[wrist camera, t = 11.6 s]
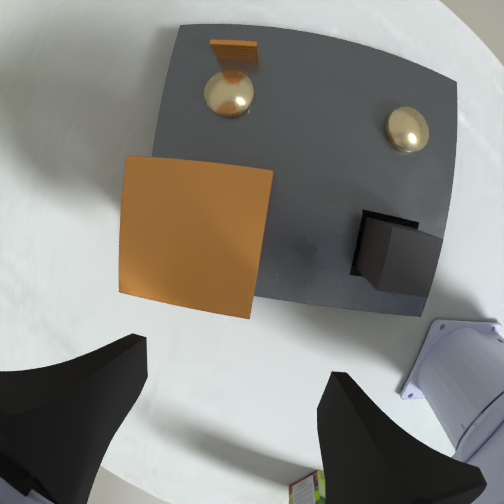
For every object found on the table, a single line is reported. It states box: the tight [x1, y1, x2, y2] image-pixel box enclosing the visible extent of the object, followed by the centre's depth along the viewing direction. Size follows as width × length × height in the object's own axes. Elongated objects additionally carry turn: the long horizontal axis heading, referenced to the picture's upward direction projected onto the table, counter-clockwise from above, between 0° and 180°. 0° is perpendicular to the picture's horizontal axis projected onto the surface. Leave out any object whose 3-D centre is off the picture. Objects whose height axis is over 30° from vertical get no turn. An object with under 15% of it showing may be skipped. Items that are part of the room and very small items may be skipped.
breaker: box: [355, 217, 443, 298], centre depth 14 cm, size 3×3×4 cm
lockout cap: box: [119, 156, 273, 319], centre depth 13 cm, size 6×6×5 cm
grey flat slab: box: [152, 24, 457, 317], centre depth 15 cm, size 18×16×4 cm
